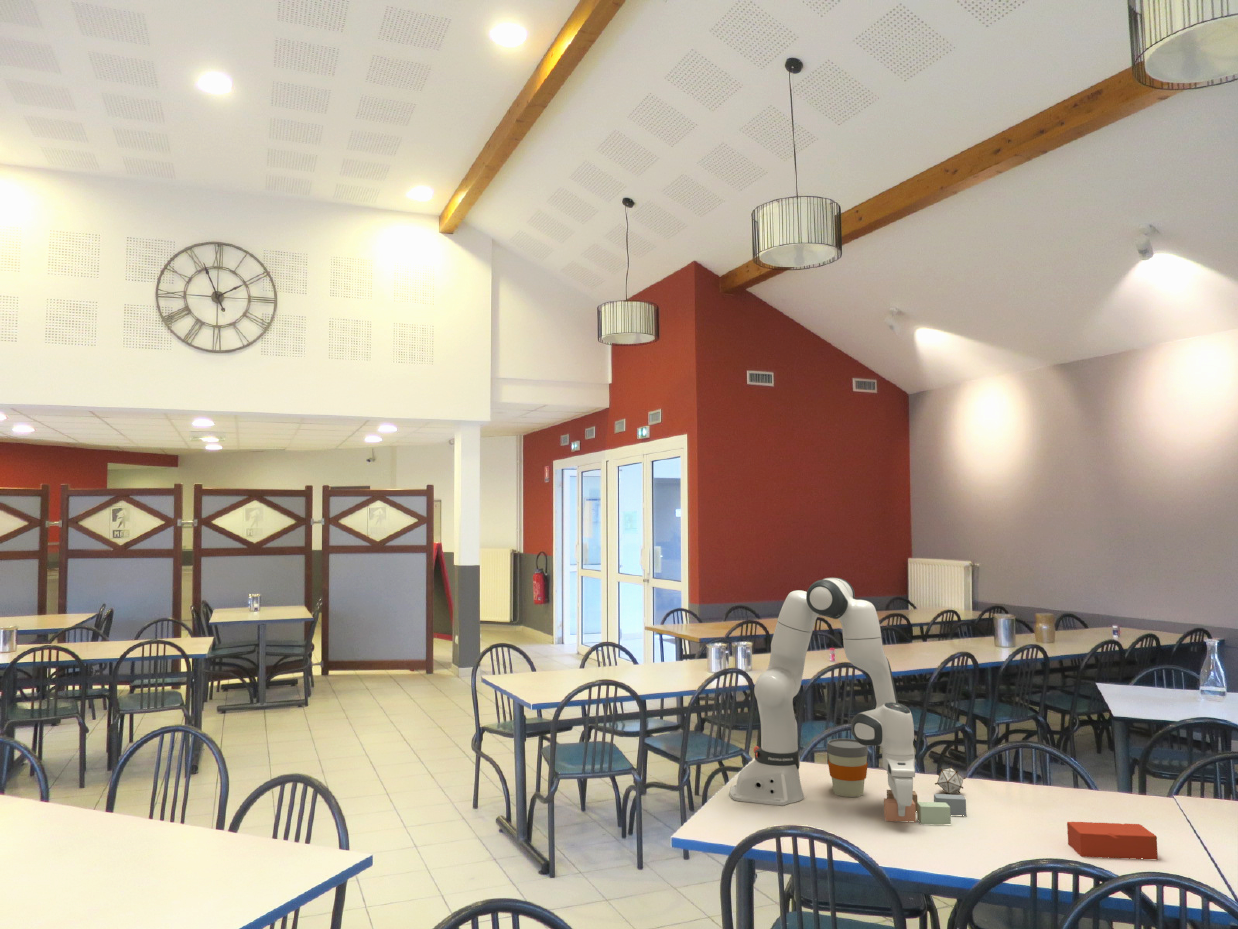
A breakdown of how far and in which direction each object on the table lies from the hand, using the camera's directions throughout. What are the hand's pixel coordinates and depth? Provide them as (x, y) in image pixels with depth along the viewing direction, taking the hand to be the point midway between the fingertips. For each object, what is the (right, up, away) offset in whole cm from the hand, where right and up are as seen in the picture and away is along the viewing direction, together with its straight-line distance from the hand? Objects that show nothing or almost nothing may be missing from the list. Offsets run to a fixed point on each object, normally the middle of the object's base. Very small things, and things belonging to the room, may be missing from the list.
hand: (899, 812), depth 243 cm
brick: (+46, -1, -25) cm, 52 cm away
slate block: (+16, -2, +4) cm, 17 cm away
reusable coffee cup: (-8, -4, +24) cm, 26 cm away
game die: (+23, -4, +22) cm, 32 cm away
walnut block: (+3, -3, +8) cm, 9 cm away
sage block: (+9, -2, -3) cm, 9 cm away
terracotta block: (0, -2, 0) cm, 2 cm away
